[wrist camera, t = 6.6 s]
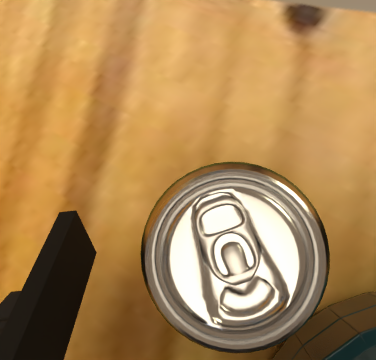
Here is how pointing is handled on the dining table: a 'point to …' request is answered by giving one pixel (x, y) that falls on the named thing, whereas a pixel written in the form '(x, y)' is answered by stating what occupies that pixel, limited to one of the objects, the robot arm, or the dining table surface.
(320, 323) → the glazed bowl
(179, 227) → the soda can
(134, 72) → the dining table surface
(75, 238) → the robot arm
